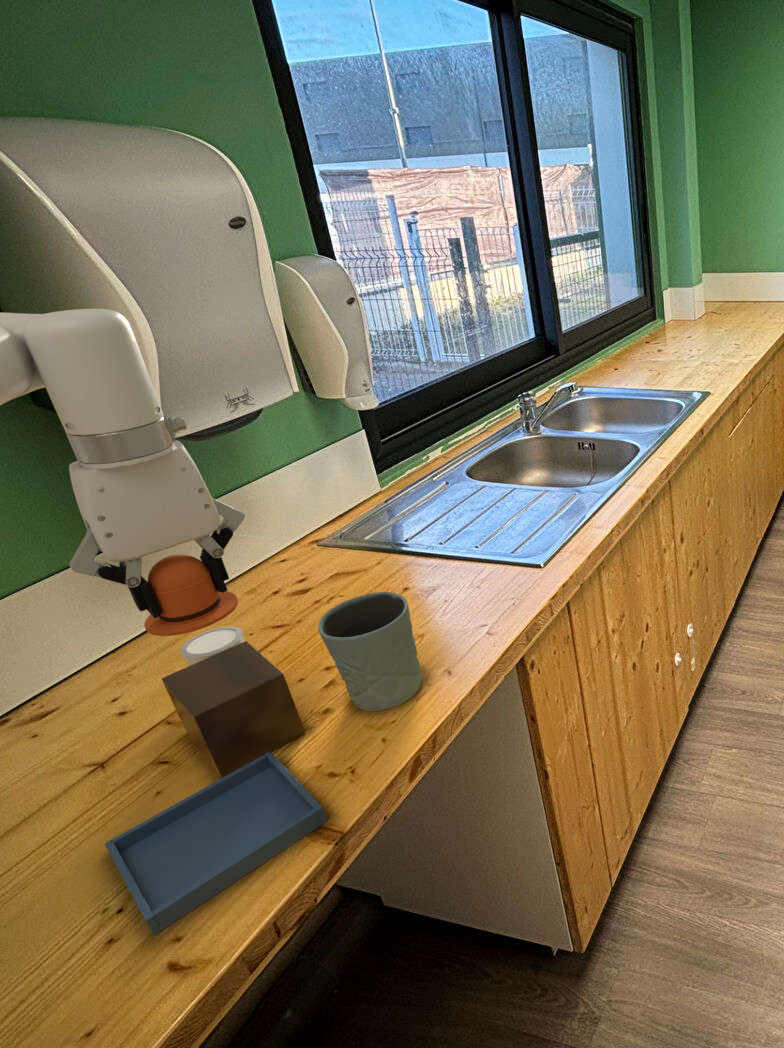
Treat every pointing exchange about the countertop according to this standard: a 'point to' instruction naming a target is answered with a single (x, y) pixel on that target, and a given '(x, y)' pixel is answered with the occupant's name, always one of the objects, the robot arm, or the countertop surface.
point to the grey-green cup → (373, 649)
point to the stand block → (234, 707)
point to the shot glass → (211, 643)
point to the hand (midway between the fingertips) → (187, 598)
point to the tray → (213, 839)
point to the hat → (185, 597)
